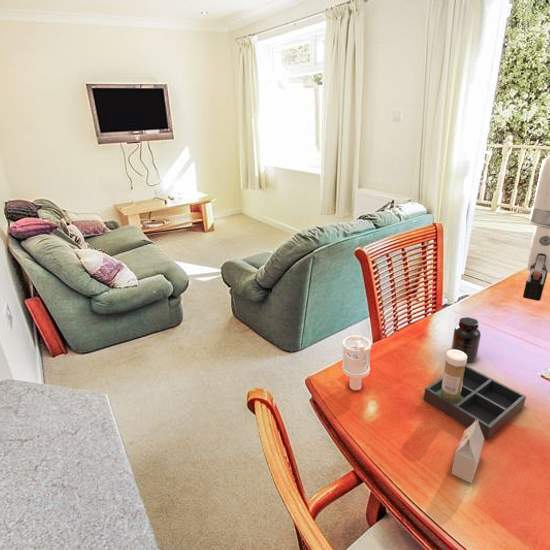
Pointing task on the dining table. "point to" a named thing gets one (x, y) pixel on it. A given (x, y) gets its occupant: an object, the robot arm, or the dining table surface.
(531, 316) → the dining table surface
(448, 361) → the sprinkles bottle
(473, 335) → the supplement bottle
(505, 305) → the dining table surface
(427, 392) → the rack
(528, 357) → the dining table surface
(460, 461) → the white gable-top carton
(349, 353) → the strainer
